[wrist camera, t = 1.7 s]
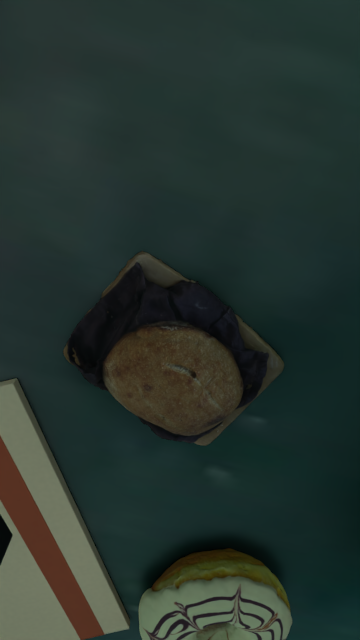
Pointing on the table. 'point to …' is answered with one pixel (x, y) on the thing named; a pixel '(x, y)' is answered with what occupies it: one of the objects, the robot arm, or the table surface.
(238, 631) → the decorated donut
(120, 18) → the table surface
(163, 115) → the table surface
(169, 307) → the bread roll
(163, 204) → the table surface
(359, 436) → the table surface
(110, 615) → the towel
